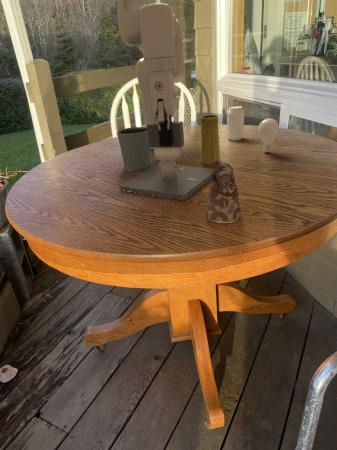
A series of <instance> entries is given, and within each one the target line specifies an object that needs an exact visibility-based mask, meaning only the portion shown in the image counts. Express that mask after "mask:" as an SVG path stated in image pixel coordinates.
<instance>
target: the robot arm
mask: <svg viewBox="0 0 337 450" xmlns="http://www.w3.org/2000/svg"><path fill="white" fill-rule="evenodd" d="M116 8H117V9H116V14H117V15H116V16H117V24H118V31H119V35H120V38H121V40H122V42H123V44H124V45H126V46H128V47H137V49H139V51H141V52H142V57H141V58H139V59H138V60H137V61H136V64H135V73H136V79H137V82H138V86H139V89H140V97H141V103H142V111H143V120H144V127H146V128H147V124H148V123H150V122H158V127H159V140H160V146H171V145H172V132H171V129H170V122H173V118H174V116H175V115H176V113H177V112H178V109H177V99H176V91H175V90H176V89H175V84H178V83H181V82H183V81H184V79H185V72H186V70H185V68H186V67H185V58H184V57H185V55H184V53H185V52H184V42H183V33H182V32H183V31H182V30H183V29H182V27H181V23H180V21H179V20H178V19H177V16H176V14H174V12H173V11H172V8H171V6H170V5H169V4H167V3H164V2H159V3H158V0H117V4H116ZM150 150H154V147H150Z"/></svg>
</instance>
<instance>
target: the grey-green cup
mask: <svg viewBox="0 0 337 450" xmlns="http://www.w3.org/2000/svg"><path fill="white" fill-rule="evenodd" d="M116 136H117V139H118V143H119V147H120V153H121V157H122V161H123V168H124V170H125V169H126V170H125V171H127V170H130V171H129V172H138V171H137V170H142V171H145V170H148V169H150V168H151V156H150V154H151V149H150V146H149V138H148V129H147V128H146V127H145V126H134V127H127V128H126V127H125V128H122V129H120V130H117V132H116ZM147 168H148V169H147ZM144 169H145V170H144Z"/></svg>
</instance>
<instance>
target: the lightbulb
mask: <svg viewBox="0 0 337 450" xmlns="http://www.w3.org/2000/svg"><path fill="white" fill-rule="evenodd" d="M257 131H258V135H259V136H260V137H261V140H262V141H261V142H262V144H263V152H264V153H265V154H269V153H271V152H272V149H273V148H272V147H273V143H274V139H275V138H276V137H277V135H278V134H279V131H280V125H279V122H278V121H277V120H276V119H274V118H271V117H270V118H269V117H268V118H265V119H263V120H261V122H260V123H259V125H258V129H257Z"/></svg>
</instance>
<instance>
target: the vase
mask: <svg viewBox="0 0 337 450" xmlns="http://www.w3.org/2000/svg"><path fill="white" fill-rule="evenodd" d="M200 134H201V135H200V137H201V138H200V140H201V141H200V143H201V160H200V163H201V164H203V165H205V166H206V165H207V166H208V165H209V166H210V165H211V166H214V165H213V161H215V160H217V161H218V163H219V164H220V162H221V157H220V137H219V115H217V114H204V115H201V116H200Z"/></svg>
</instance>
